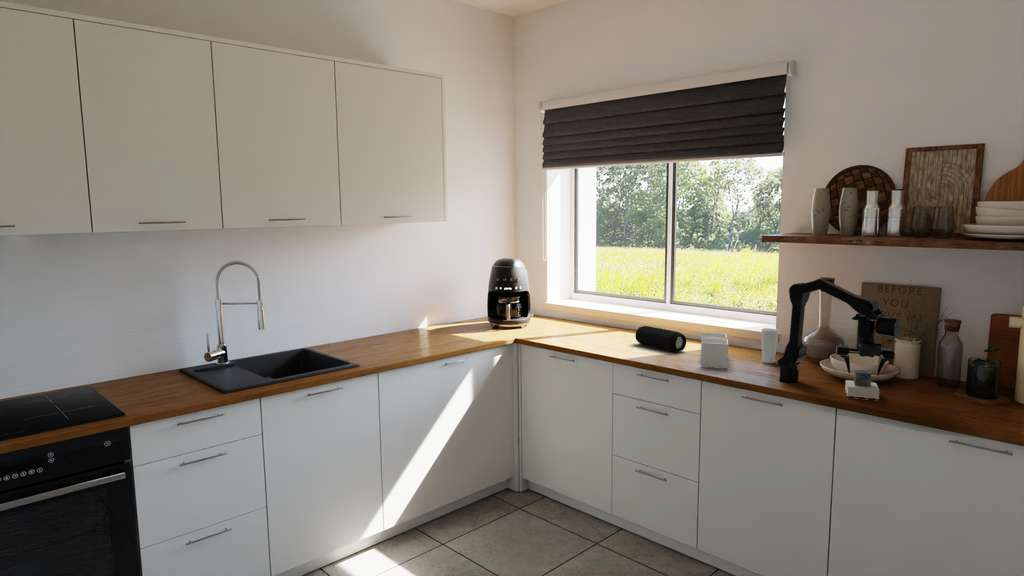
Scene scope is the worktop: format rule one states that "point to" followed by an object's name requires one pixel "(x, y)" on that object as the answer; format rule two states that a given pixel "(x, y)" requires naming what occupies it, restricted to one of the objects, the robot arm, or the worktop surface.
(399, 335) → the worktop surface
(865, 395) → the cream base block
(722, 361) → the storage container
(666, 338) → the portable speaker
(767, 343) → the white tumbler
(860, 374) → the charcoal cube
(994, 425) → the worktop surface
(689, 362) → the worktop surface
